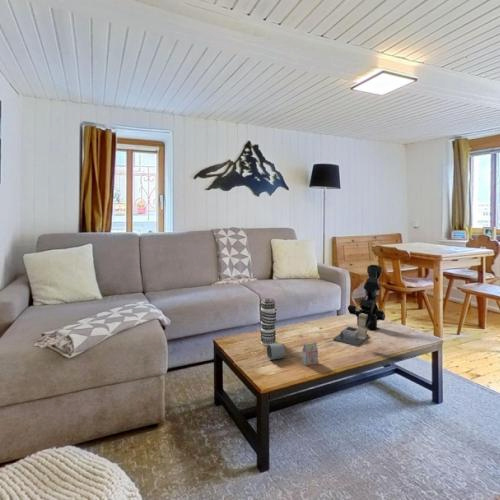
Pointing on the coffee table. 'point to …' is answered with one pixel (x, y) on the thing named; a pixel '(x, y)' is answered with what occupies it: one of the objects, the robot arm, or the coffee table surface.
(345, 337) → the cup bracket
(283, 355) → the ceramic mug
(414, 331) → the coffee table surface
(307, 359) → the small box
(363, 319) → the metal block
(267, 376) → the coffee table surface
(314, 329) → the coffee table surface
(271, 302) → the decorative candle
